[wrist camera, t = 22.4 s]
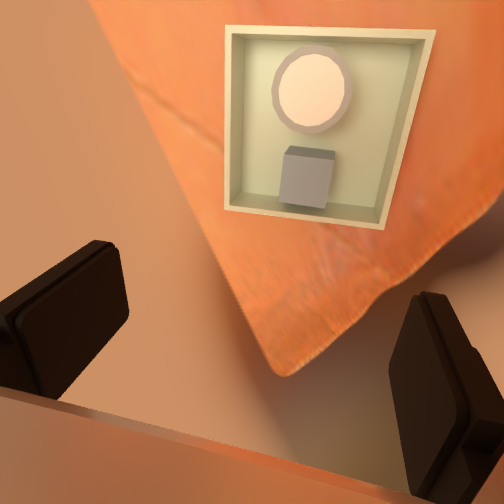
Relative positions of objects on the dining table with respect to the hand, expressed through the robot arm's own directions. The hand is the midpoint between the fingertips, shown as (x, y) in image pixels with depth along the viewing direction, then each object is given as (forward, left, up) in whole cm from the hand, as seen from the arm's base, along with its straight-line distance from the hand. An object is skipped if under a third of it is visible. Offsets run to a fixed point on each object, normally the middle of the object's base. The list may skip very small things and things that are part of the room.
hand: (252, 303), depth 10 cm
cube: (0, +3, -30) cm, 30 cm away
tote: (0, -2, -30) cm, 30 cm away
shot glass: (0, -5, -30) cm, 30 cm away
